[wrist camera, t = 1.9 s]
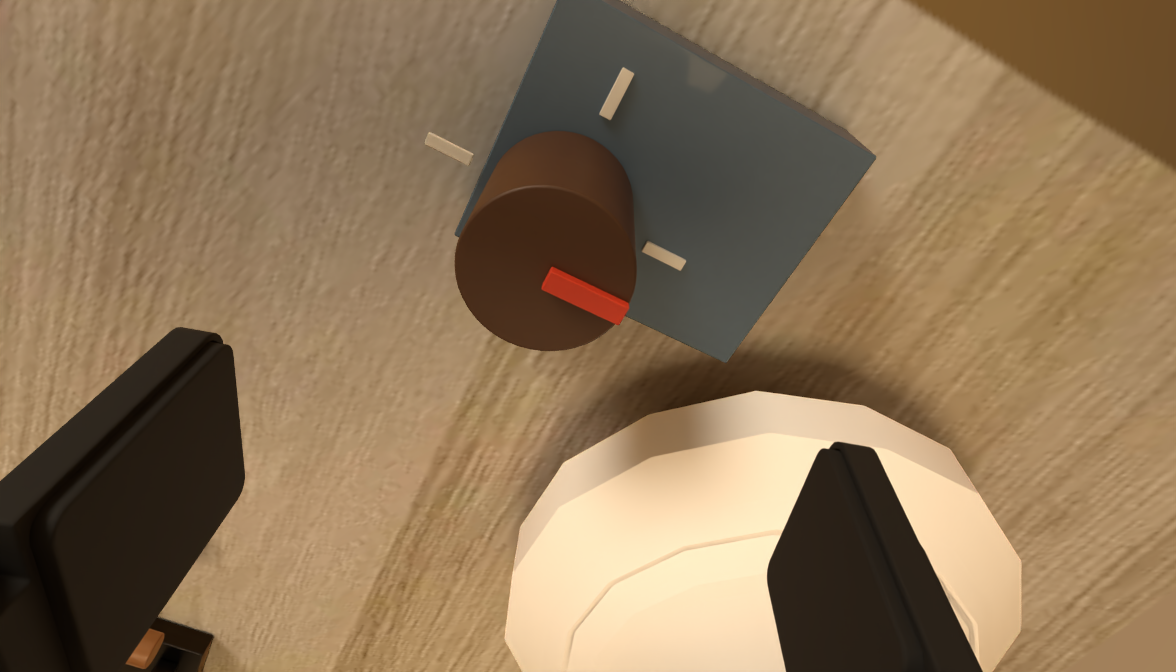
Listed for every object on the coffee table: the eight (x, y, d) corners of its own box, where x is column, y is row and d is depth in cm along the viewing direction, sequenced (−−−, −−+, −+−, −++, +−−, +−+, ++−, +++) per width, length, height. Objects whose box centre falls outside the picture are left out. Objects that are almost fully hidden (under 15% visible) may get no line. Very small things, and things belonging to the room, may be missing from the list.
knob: (465, 232, 22) (425, 313, 17) (523, 102, 20) (495, 154, 15) (591, 292, 23) (584, 384, 18) (660, 173, 21) (671, 243, 16)
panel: (405, 223, 25) (379, 259, 22) (517, -59, 20) (501, -57, 18) (690, 357, 27) (698, 404, 24) (848, 131, 23) (879, 158, 20)
